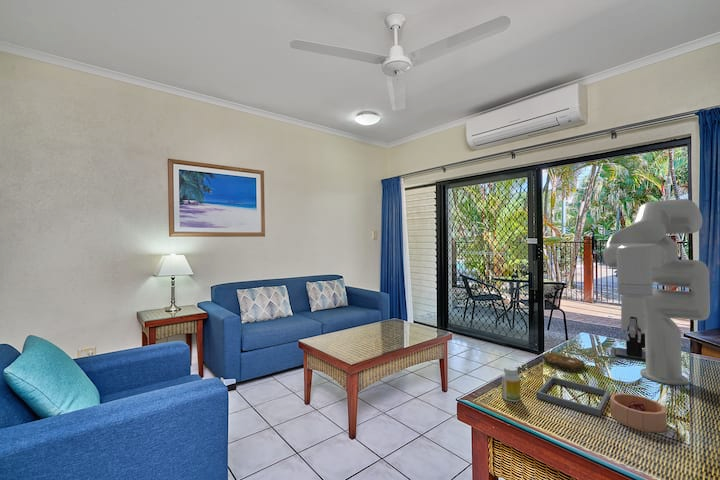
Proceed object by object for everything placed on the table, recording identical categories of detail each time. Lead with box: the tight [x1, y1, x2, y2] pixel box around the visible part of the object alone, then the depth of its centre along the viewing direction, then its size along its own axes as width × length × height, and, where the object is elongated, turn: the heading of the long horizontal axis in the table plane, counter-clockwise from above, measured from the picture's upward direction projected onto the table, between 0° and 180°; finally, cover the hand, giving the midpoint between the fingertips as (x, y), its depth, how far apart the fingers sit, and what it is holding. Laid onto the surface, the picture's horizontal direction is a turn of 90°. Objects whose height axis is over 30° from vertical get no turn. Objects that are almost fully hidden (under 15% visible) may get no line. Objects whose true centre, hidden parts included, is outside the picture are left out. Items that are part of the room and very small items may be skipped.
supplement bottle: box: [501, 365, 521, 403], centre depth 105 cm, size 5×5×10 cm
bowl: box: [609, 392, 667, 434], centre depth 91 cm, size 12×12×5 cm
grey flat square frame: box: [535, 376, 611, 417], centre depth 105 cm, size 17×17×2 cm
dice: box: [628, 401, 646, 412], centre depth 91 cm, size 4×4×4 cm
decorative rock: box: [541, 352, 586, 372], centre depth 132 cm, size 11×4×15 cm
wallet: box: [609, 347, 646, 363], centre depth 140 cm, size 20×2×15 cm
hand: (636, 351), depth 91 cm, fingers open, 9 cm apart
